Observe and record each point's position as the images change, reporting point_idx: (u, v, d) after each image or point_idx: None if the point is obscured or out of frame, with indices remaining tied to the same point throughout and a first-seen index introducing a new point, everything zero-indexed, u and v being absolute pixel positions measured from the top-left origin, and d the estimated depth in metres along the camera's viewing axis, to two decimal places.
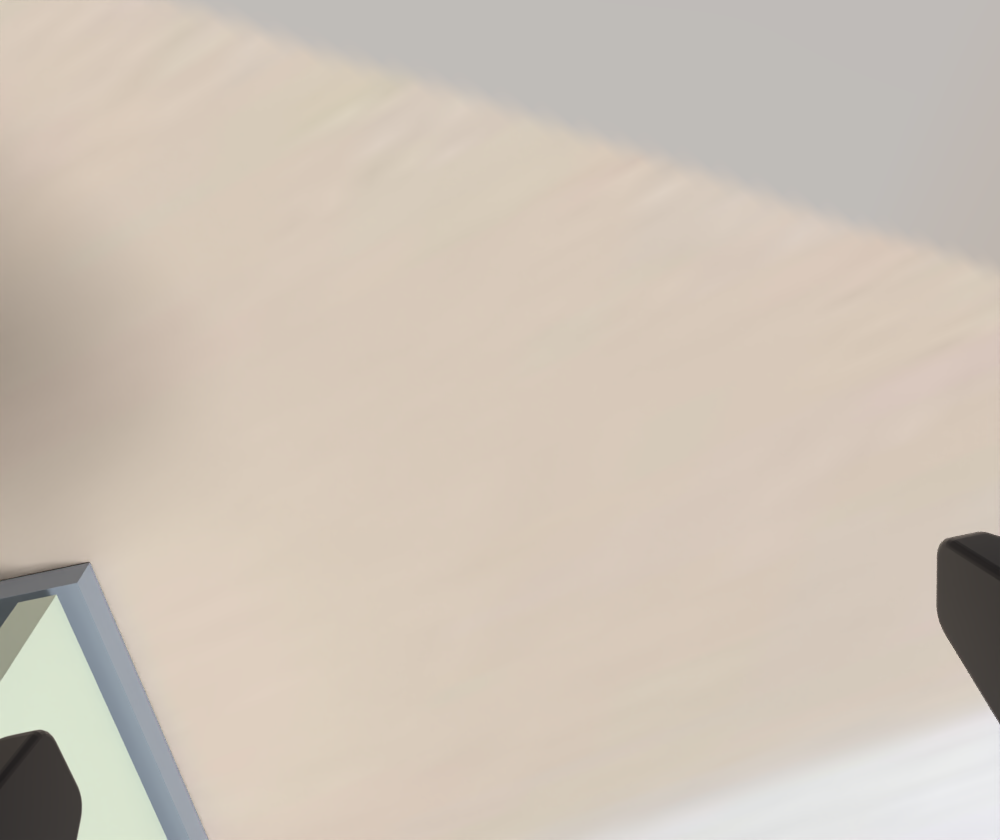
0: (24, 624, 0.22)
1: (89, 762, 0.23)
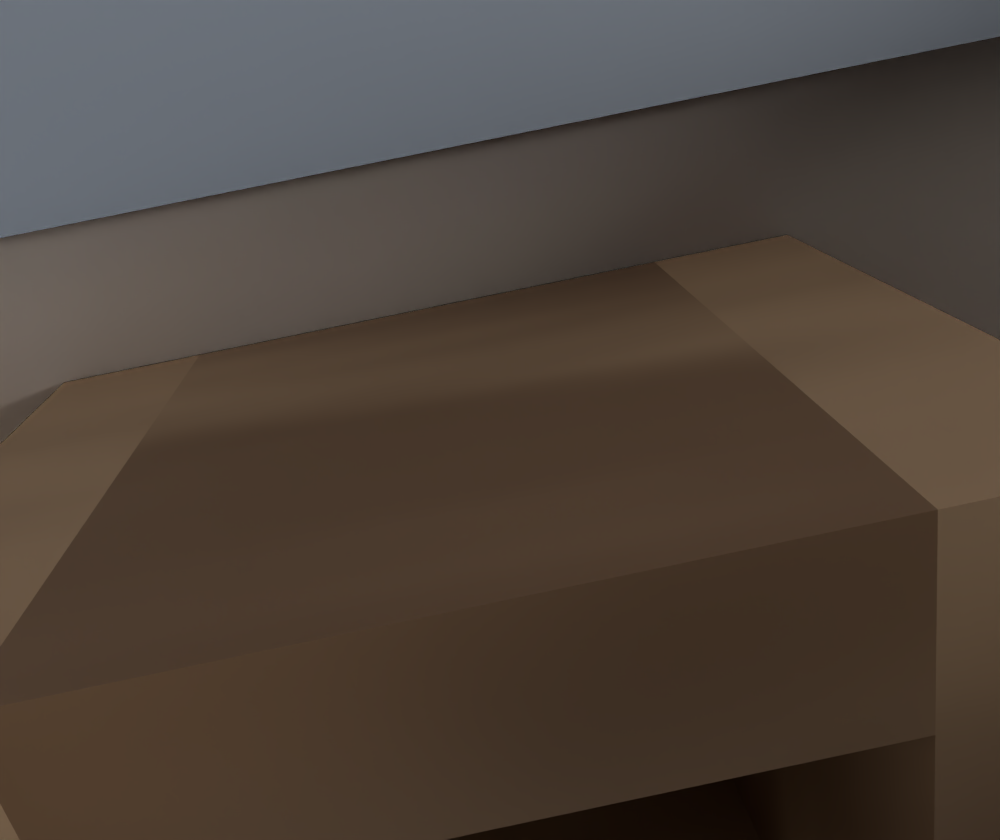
0: None
1: None
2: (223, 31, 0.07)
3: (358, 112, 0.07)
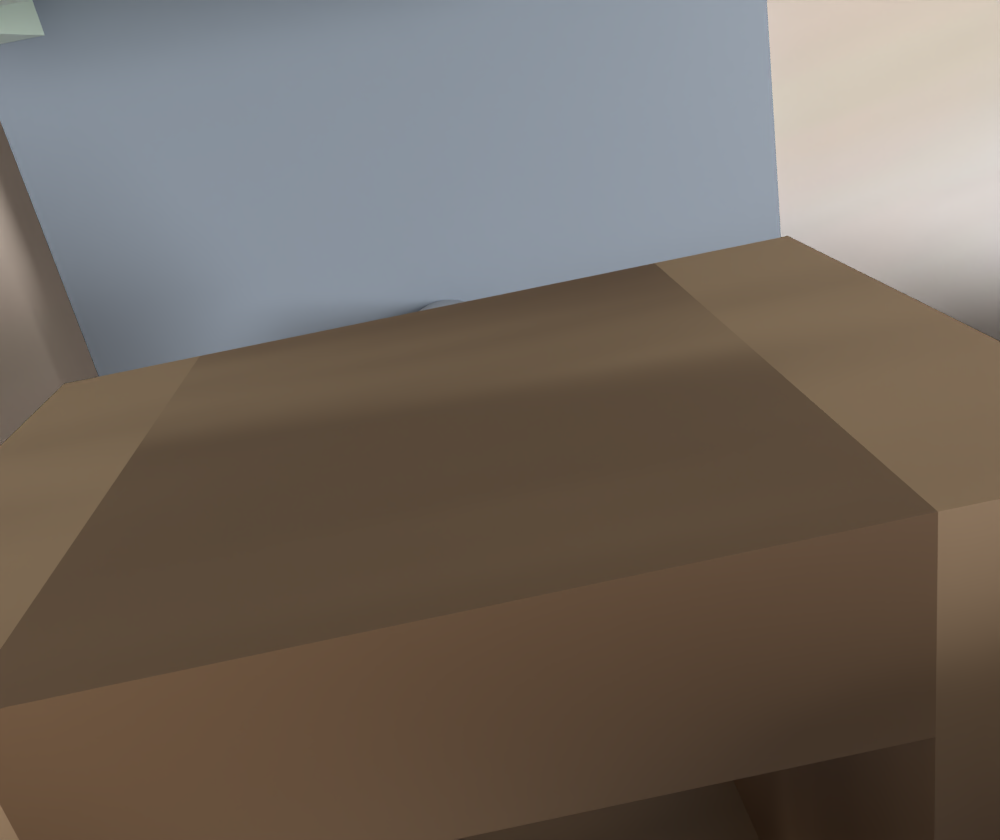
0: None
1: None
2: None
3: None
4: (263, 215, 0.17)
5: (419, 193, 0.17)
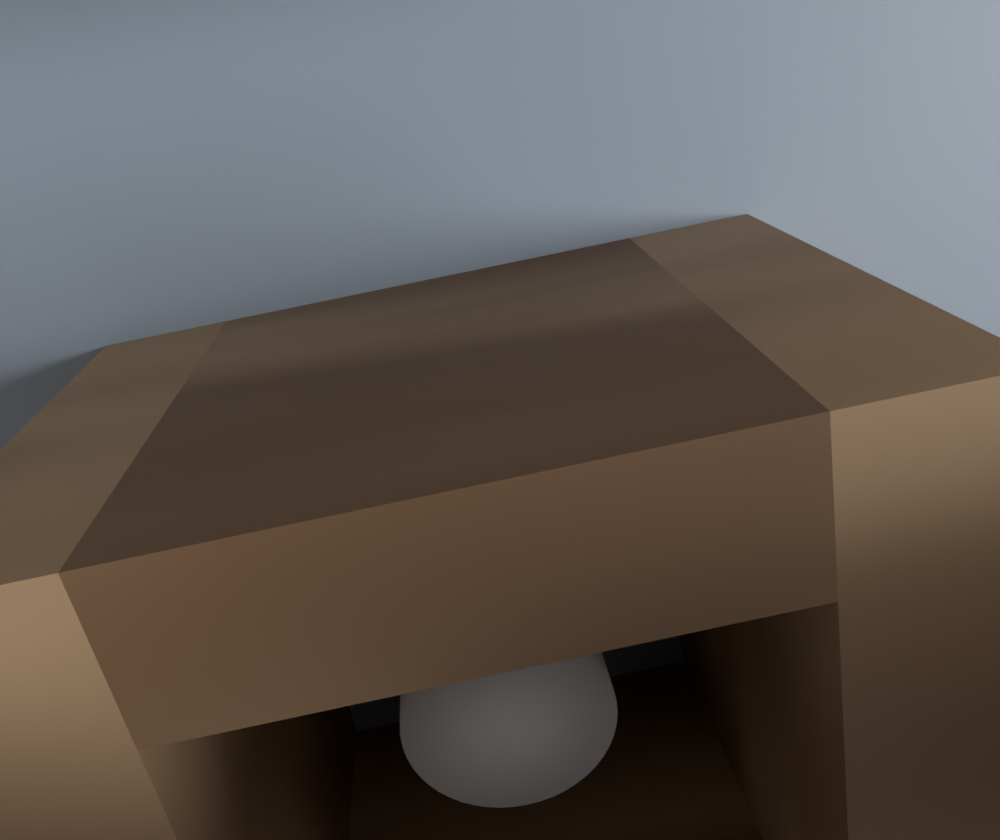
0: None
1: None
2: None
3: None
4: None
5: None
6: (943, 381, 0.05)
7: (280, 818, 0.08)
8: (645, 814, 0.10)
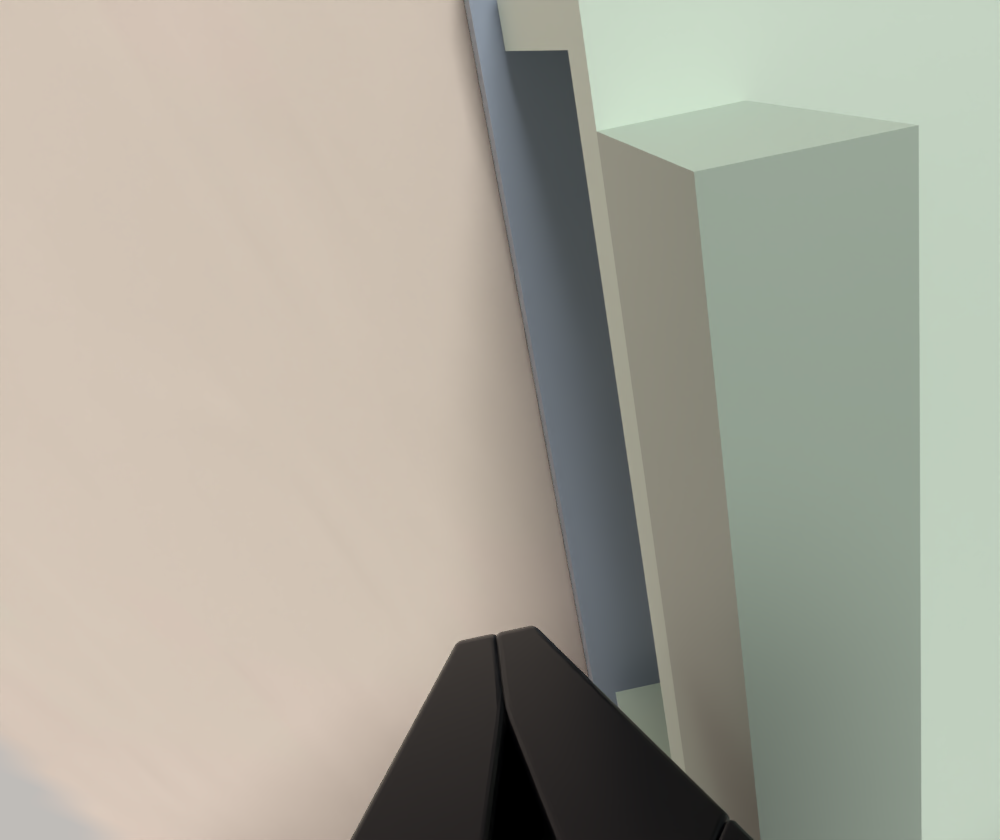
0: None
1: None
2: None
3: None
4: None
5: None
6: None
7: None
8: None
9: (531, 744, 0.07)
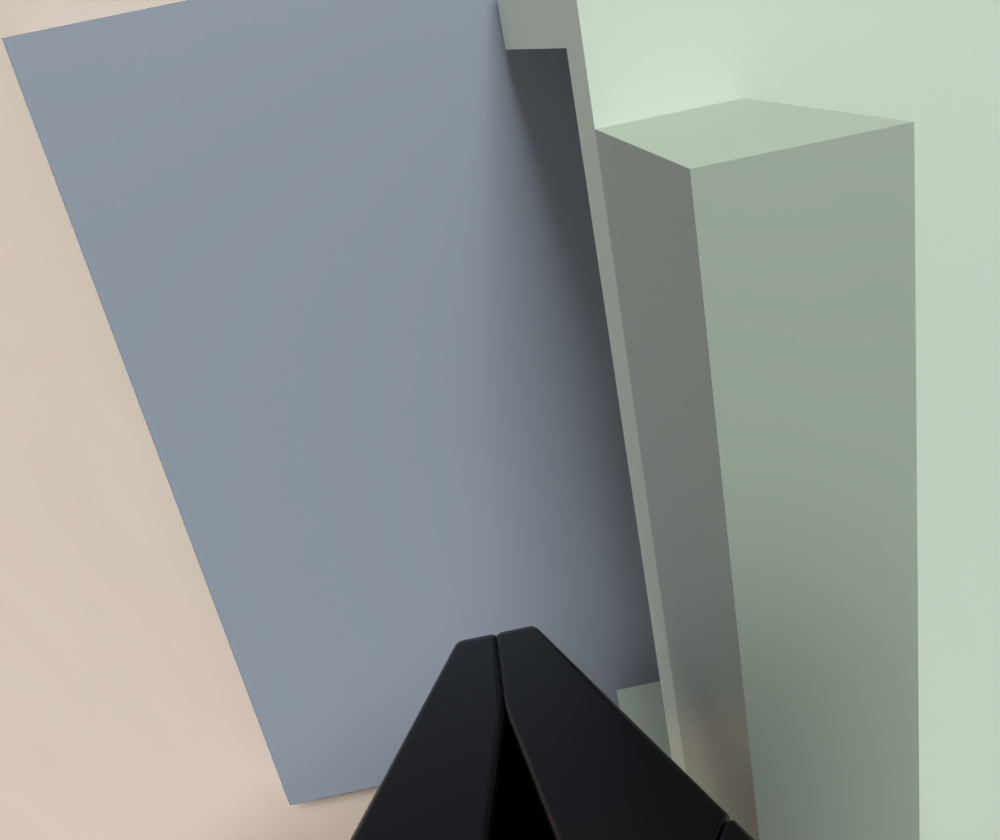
0: None
1: None
2: None
3: None
4: None
5: None
6: None
7: None
8: None
9: (531, 744, 0.07)
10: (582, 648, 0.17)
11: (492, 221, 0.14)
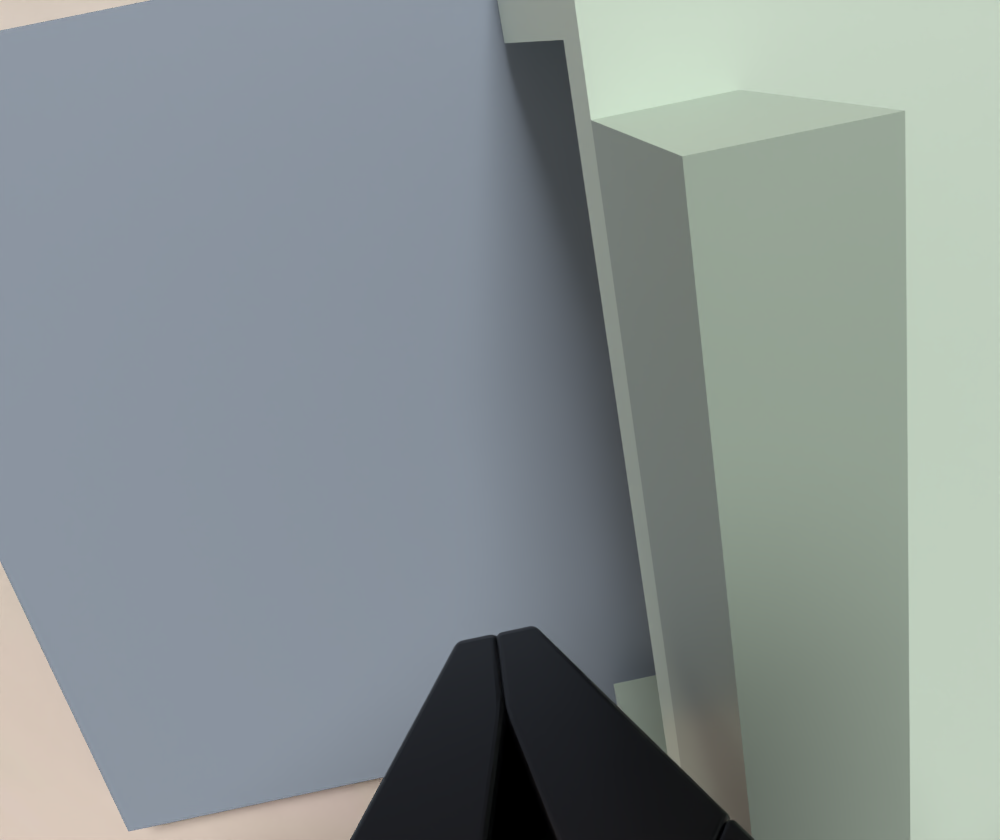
0: None
1: None
2: None
3: None
4: None
5: None
6: None
7: None
8: None
9: (531, 744, 0.07)
10: (413, 677, 0.17)
11: (286, 257, 0.14)
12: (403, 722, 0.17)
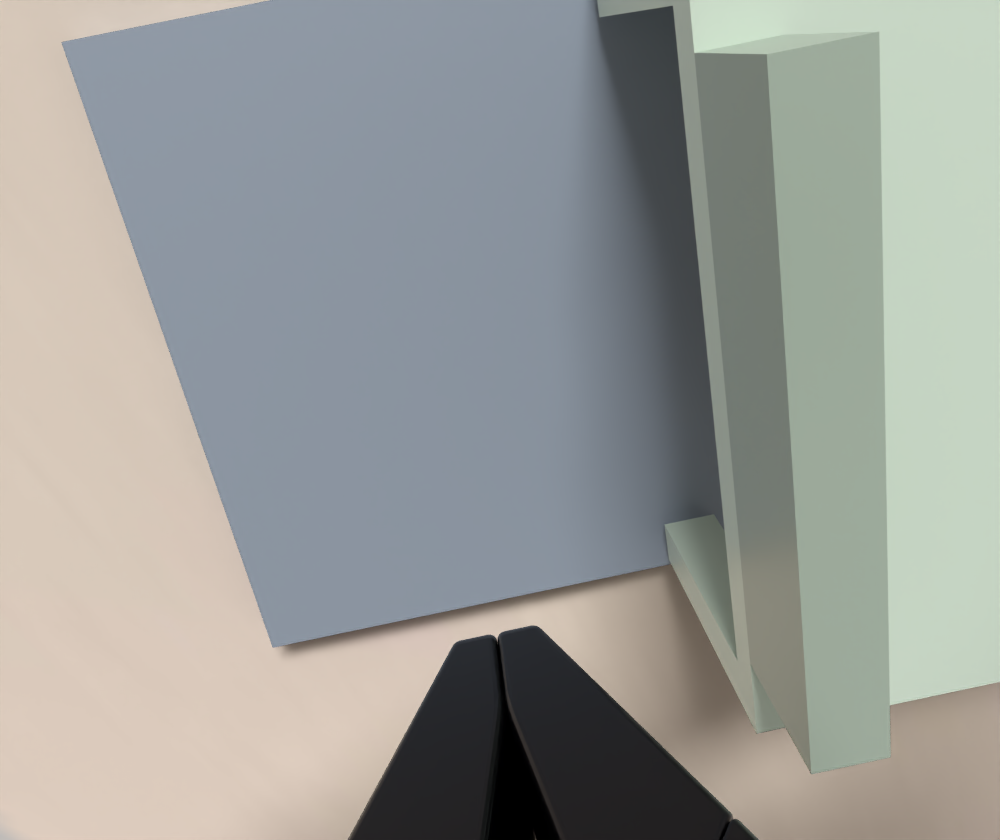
0: None
1: None
2: None
3: None
4: None
5: None
6: None
7: None
8: None
9: (534, 743, 0.07)
10: (501, 520, 0.21)
11: (422, 180, 0.18)
12: (491, 559, 0.22)
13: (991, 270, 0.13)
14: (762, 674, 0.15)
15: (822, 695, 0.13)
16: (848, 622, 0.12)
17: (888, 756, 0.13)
